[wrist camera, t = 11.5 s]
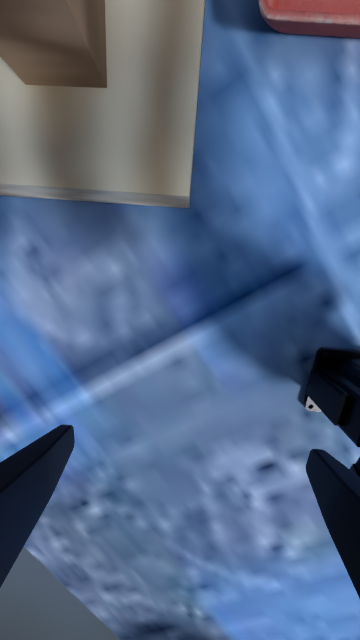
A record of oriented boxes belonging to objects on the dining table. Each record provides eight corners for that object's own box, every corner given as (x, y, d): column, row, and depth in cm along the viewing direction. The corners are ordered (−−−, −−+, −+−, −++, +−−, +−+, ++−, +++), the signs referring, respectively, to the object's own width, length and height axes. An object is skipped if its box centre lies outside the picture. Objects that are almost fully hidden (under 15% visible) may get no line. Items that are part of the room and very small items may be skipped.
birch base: (212, -86, 12) (218, -193, 9) (189, 208, 17) (189, 196, 14) (-45, -93, 13) (-114, -199, 10) (-5, 194, 17) (-45, 180, 14)
